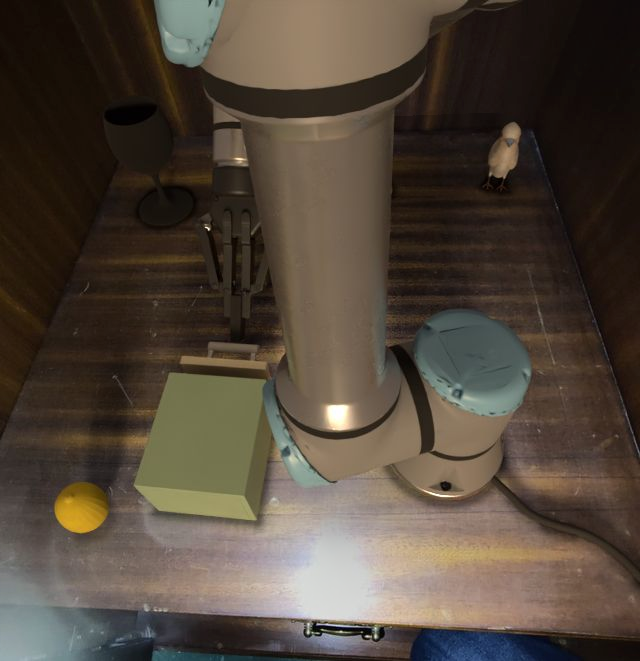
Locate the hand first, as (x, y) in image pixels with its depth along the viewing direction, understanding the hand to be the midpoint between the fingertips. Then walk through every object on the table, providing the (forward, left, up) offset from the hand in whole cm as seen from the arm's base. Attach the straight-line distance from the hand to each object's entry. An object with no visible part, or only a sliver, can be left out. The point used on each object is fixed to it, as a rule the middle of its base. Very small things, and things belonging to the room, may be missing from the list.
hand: (237, 340), depth 73 cm
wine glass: (+38, -8, -5) cm, 39 cm away
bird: (+1, -58, -5) cm, 58 cm away
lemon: (-8, +27, -5) cm, 29 cm away
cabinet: (-11, +11, -5) cm, 17 cm away
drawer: (-7, +7, -4) cm, 11 cm away
